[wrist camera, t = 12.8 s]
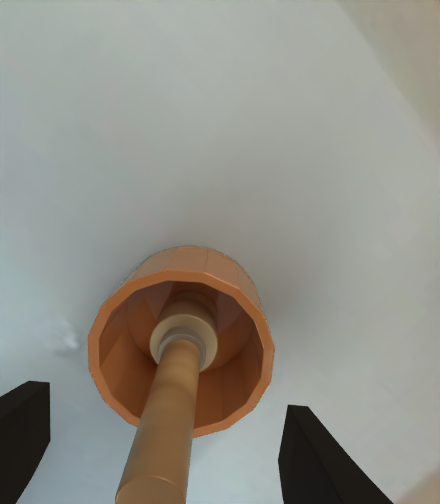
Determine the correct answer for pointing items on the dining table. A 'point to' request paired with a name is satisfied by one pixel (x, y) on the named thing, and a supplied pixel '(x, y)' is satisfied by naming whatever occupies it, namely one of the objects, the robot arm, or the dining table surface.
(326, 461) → the robot arm
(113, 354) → the copper cup
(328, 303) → the dining table surface
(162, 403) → the turned wooden handle
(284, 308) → the dining table surface
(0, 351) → the dining table surface
